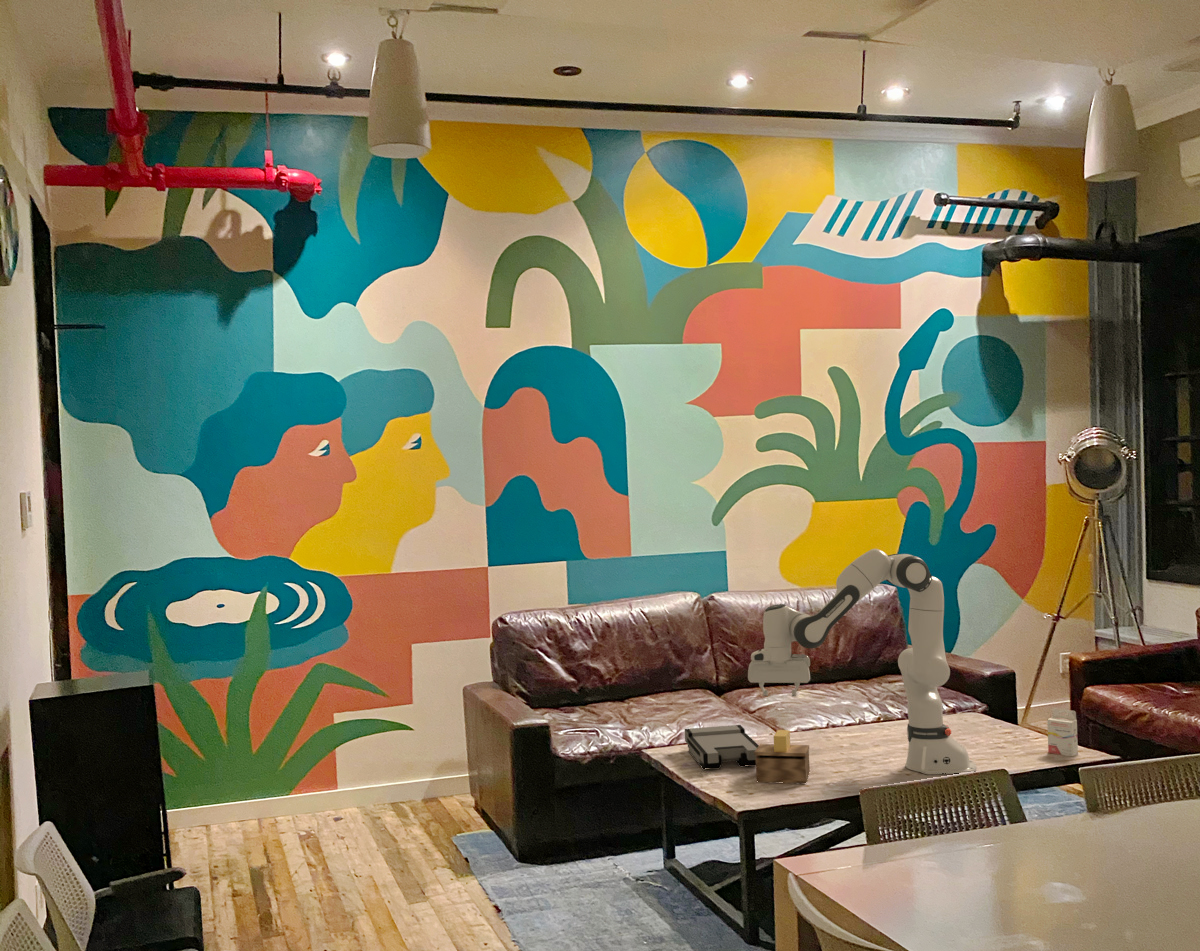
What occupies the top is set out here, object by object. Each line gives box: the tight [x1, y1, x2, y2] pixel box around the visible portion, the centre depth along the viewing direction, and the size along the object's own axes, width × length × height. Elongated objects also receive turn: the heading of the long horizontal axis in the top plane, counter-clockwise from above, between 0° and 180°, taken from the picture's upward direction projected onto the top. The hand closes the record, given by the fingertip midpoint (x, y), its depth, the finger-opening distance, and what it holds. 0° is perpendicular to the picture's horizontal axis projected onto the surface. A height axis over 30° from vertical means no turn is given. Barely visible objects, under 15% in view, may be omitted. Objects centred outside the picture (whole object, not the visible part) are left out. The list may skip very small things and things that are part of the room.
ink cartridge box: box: [1047, 707, 1079, 757], centre depth 379 cm, size 9×5×15 cm, turn 47°
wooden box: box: [755, 749, 811, 784], centre depth 366 cm, size 16×14×8 cm
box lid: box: [754, 743, 810, 756], centre depth 366 cm, size 16×14×1 cm
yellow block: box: [773, 729, 791, 752], centre depth 366 cm, size 4×12×5 cm, turn 165°
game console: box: [684, 724, 760, 770], centre depth 391 cm, size 21×32×8 cm, turn 7°
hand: (779, 696), depth 366 cm, fingers open, 8 cm apart
